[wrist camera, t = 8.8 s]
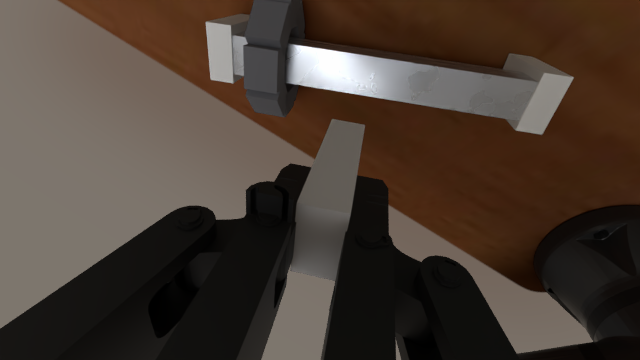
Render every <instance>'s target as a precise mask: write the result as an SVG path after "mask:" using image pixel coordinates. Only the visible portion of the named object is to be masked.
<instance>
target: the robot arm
mask: <svg viewBox="0 0 640 360" xmlns="http://www.w3.org/2000/svg"><path fill="white" fill-rule="evenodd" d="M364 129H365V125H363V124H357V123H351V122H346V121H340V120H335V119H332V121H331V123H330V125H329V128H328V130H327V133H326V135H325V137H324V140H323V142H322V144H321V147H320V149H319V151H318V154H317V156H316V159H315V161H314V163H313V166H312V167H306V166H301V165H296V164H289V165H288V166H286V167H284V168H283V169H282V170H281V171H280V173H279V175H278V176H277V178H276V180H275V181H274V182H270V181H266V182H259V183H256V184H254V185H251V186H250V187H249V188H248V189H247V190H246V215H245V217H244V218H241V219H232V220H216V218H215V215H214V213H213V211H211V210H209V209H208V208H206V207H201V206H187V207H182V208H179V209H177V210H175V211H173V212H171V213H169V214H168V215H166V216H165V217H163V218H162V219H161V220H159V221H157V222H156V223H155V224H153V225H152V226H150V227H149V228H147V229H146V230H144V231H143V232H142V233H140V234H138V235H137V236H135V237H134V238H133V239H131V240H130V241H128V242H127V243H125V244H124V245H122V246H121V247H119V248H118V249H116V250H115V251H114V252H112V253H111V254H109V255H108V256H106V257H105V258H103V259H102V260H100V261H99V262H97V263H96V264H94V265H93V266H92V267H90V268H89V269H87V270H86V271H84V272H83V273H81V274H80V275H78V276H77V277H76V278H74V279H72V280H71V281H70V282H68V283H67V284H65V285H64V286H62V287H61V288H59V289H58V290H56V291H55V292H53V293H52V294H50V295H49V296H48V297H46V298H45V299H43V300H42V301H40V302H39V303H37V304H36V305H34V306H33V307H31V308H30V309H29V310H27V311H26V312H24V313H23V314H21V315H20V316H18V317H17V318H15V319H14V320H12V321H11V322H9V323H8V324H7V325H5V326H4V327H2V328H1V329H0V360H261V358H262V355H263V352H264V349H265V346H266V343H267V340H268V337H269V334H270V332H271V329H272V326H273V322H274V320H275V317H276V314H277V311H278V308H279V305H280V302H281V299H282V296H283V293H284V290H285V287H286V281H287V273H288V270H289V267H290V264H291V271H294V272H298V273H303V274H307V275H311V276H316V277H320V278H325V279H329V280H333V281H335V286H334V291H333V295H332V300H331V305H330V310H329V311H330V312H329V317H328V323H327V329H326V335H325V340H324V345H323V351H322V356H321V360H396V342H395V337H396V341H397V345H398V348H399V352H400V356H401V360H640V206H616V207H609V208H604V209H599V210H595V211H592V212H588V213H585V214H583V215H580V216H578V217H575V218H573V219H571V220H569V221H567V222H565V223H564V224H562V225H560V226H559V227H557V228H556V229H555V230H553V231H552V232H551V233H550V234H549V235H548V236H547V237H546V238H545V239H544V240H543V241H542V242H541V244H540V245H539V247H538V249H537V251H536V253H535V256H534V269H535V272H536V274H537V276H538V278H539V280H540V282H541V284H542V286H543V287H544V289H545V290H546V291H547V293H548V294H549V295H550V296H551V297H552V298H553V299H555V300H556V301H557V302H558V303H559V304H560V305H561V306H562V307H563V308H564V309H565V310H566V311H567V312H568V313H570V315H572V316H573V317H574V318H575V319H576V320H577V321H578V322H579V323H580V324H581V325H582V326H583V327H584V328H585V329H586V330H587V332H588V333H589V335H590V337H591V338H592V340H593V342H591V343H584V344H578V345H570V346H564V347H557V348H551V349H545V350H539V351H533V352H526V353H519V354H516V352H515V350H514V348H513V347H512V345H511V343H510V342H509V340H508V338H507V336H506V335H505V333H504V331H503V329H502V328H501V326H500V324H499V323H498V321H497V319H496V317H495V316H494V314H493V312H492V310H491V309H490V307H489V305H488V303H487V302H486V300H485V298H484V297H483V295H482V293H481V291H480V290H479V288H478V286H477V284H476V283H475V281H474V279H473V277H472V276H471V275H470V273H469V272H468V271H467V270H466V269H465V268H464V267H463V266H461V265H460V264H459V263H458V262H456V261H454V260H452V259H450V258H447V257H443V256H429V257H427V258H425V259H424V260H423V261H422V262H420V261H417V260H415V259H413V258H411V257H409V256H407V255H405V254H404V253H402V252H401V251H399V250H398V249H397V248H396V247H395V246H394V245H393V242H392V238H391V237H390V236H389V232H388V231H389V227H388V225H389V224H388V188H387V186H386V185H385V183H384V182H383V180H379V179H373V178H368V177H363V176H358V175H357V172H358V166H359V160H360V153H361V147H362V141H363V135H364Z"/></svg>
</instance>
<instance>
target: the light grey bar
mask: <svg viewBox="0 0 640 360" xmlns="http://www.w3.org/2000/svg"><path fill="white" fill-rule="evenodd" d="M245 31H246V30H245ZM245 31H242V32H240V33H237V34H234V35H232V42H233V66H234V74H236V75H242V76H244V62H243V45H246V44H248V43H247V41H246V38H245V36H244V35H245ZM284 82H285V83H290V84H296V85H303V86H309V87H315V88H321V89H327V90H333V91H339V92H345V93H351V94H357V95H363V96H370V97H376V98H382V99H388V100H394V101H400V102H406V103H412V104H418V105H424V106H430V107H437V108H443V109H449V110H455V111H461V112H467V113H473V114H479V115H485V116H491V117H497V118H504V119H510V120H516V121H519V119H520V117H521V115H522V113H523V111H524V109H525V107H526V105H527V103H528V101H529V99H530V97H531V95H532V93H533V91H534V89H535V87H536V85H537V83H538V82H537V81H536V80H534V79H532V78H531V77H529V76H528V75H526V74H525V73H523V72H519V71H512V70H506V69H499V68H493V67H486V66H479V65H473V64H466V63H460V62H453V61H447V60H440V59H433V58H427V57H420V56H414V55H407V54H400V53H394V52H387V51H381V50H374V49H367V48H361V47H354V46H348V45H341V44H335V43H328V42H321V41H315V40H308V39H302V38H295V37H289V40H288V44H287V48H286V52H285V70H284Z"/></svg>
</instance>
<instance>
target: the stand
mask: <svg viewBox="0 0 640 360" xmlns="http://www.w3.org/2000/svg"><path fill="white" fill-rule="evenodd" d="M249 17H250V15H247V14H238V15H233V16H229V17H224V18H220V19H216V20H211V21H207V22H206V31H207V43H208V54H209V66H210V78H211V80H217V81H223V82H229V83H234V82H236V81H237V80H239V79H240V78H242V77H243V76H242V75H236V74H234V66H233V42H232V35H234V34H237V33H240V32H242V31H245V30H246V27H247V24H248V20H249ZM503 69H506V70H512V71H519V72H523V73H525V74H526V75H528V76H529V77H531V78H532V79H534V80H536V81H537V82H538V83H537V85H536V87H535V89H534V91H533V93H532V95H531V97H530V99H529V101H528V103H527V105H526V107H525V109H524V111H523V113H522V115H521V117H520V119H519V121H516V120H510V119H506V120H507V121H508V123H509V124H510V125H511V126H512V127H513V128H514V129H515V130H517V131H523V132H529V133H535V134H541V135H542V134H543V132H544V130H545V129H546V127H547V125H548V123H549V121H550V120H551V118H552V116H553V114H554V112H555V111H556V109H557V107H558V105H559V104H560V102H561V100H562V98H563V96H564V95H565V93H566V91H567V89H568V87H569V86H570V84H571V82H572V80H573V78H574V77H572V76H570V75H568V74H566V73H564V72H562V71H560V70H558V69H556V68H554V67H552V66H550V65H548V64H546V63H544V62H542V61H540V60H538V59H536V58H534V57H532V56H525V55H518V54H511V53H509V55H508V58H507V60H506V62H505V65H504V67H503Z"/></svg>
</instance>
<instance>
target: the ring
mask: <svg viewBox="0 0 640 360" xmlns="http://www.w3.org/2000/svg"><path fill="white" fill-rule="evenodd" d="M304 29H305V20H304V12H303V4H302V0H254V3H253V6H252V10H251V13H250V17H249V20H248V24H247V27H246V31H245V35H244V36H245V38H246V41H247V43H248V44H246V45H243V62H244V89H247V92H246V97H247V99H248V101H249V102H250V104H251V106H252V107H253V109H254V111H255V112H257V113H263V114H269V115H274V116H280V117H286V115H287V114H288V113H289V111H290V110H291V108H292V107H293V105H294V101H295V99H296V95H297V91H298V87H299V85H296V84H290V83H285V82H284V70H285V52H286V48H287V44H288V40H289V37H295V38H302V39H305V33H304Z"/></svg>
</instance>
